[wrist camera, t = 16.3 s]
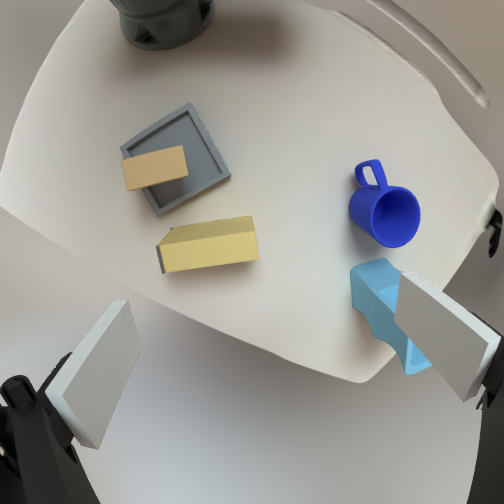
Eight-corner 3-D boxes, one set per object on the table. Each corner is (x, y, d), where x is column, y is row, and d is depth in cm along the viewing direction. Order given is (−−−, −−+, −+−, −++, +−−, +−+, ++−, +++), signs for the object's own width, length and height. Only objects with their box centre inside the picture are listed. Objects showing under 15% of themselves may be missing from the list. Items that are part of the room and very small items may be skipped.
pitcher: (388, 256, 46) (459, 308, 27) (390, 295, 48) (450, 356, 29) (348, 267, 46) (408, 330, 27) (352, 307, 48) (403, 378, 29)
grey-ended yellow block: (175, 249, 44) (159, 274, 34) (170, 228, 43) (152, 247, 33) (254, 237, 44) (259, 259, 34) (251, 215, 43) (255, 231, 33)
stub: (135, 190, 38) (127, 190, 28) (130, 166, 37) (121, 160, 27) (182, 178, 39) (188, 175, 30) (177, 155, 38) (182, 144, 29)
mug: (369, 150, 40) (402, 150, 31) (393, 218, 44) (426, 233, 34) (326, 169, 41) (350, 172, 31) (353, 238, 45) (380, 258, 35)
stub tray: (125, 148, 38) (119, 147, 36) (192, 106, 37) (190, 102, 35) (162, 213, 42) (157, 216, 39) (230, 174, 41) (230, 174, 38)
